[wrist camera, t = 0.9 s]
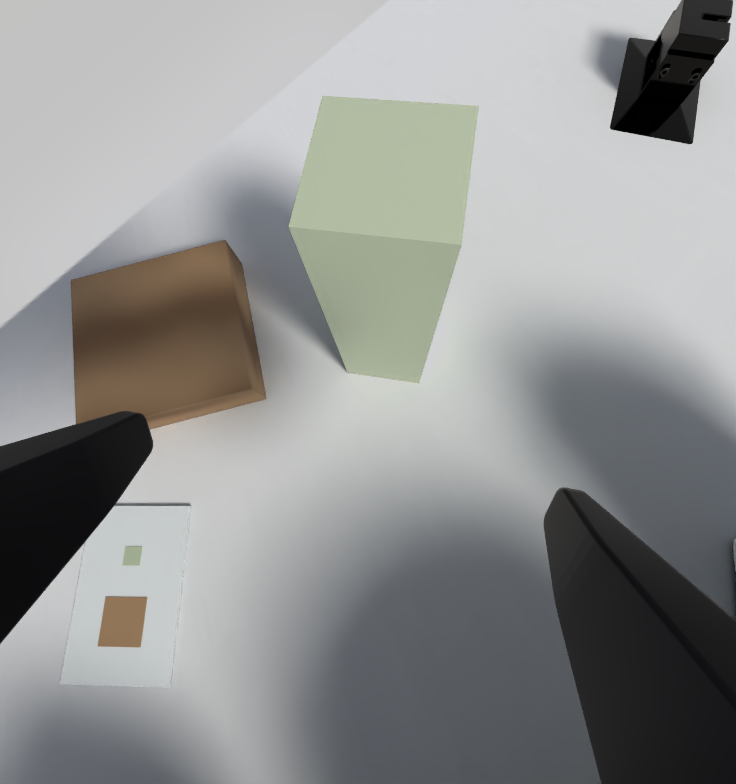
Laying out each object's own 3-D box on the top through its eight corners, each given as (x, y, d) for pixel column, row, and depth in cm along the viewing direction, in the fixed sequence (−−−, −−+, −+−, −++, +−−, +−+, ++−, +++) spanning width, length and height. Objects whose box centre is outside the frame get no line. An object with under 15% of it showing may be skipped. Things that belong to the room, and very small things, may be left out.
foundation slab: (266, 398, 22) (250, 388, 19) (111, 439, 22) (76, 434, 19) (241, 263, 24) (225, 239, 22) (103, 300, 24) (70, 280, 22)
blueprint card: (170, 685, 18) (167, 688, 18) (62, 682, 18) (58, 684, 18) (190, 505, 20) (189, 505, 20) (93, 505, 21) (91, 506, 20)
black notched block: (694, 168, 24) (762, 99, 20) (587, 148, 25) (629, 78, 21) (710, 43, 27) (774, -42, 23) (613, 30, 28) (655, -55, 23)
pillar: (418, 383, 21) (461, 244, 9) (347, 372, 22) (288, 226, 9) (428, 316, 22) (478, 106, 10) (360, 307, 23) (322, 95, 10)
